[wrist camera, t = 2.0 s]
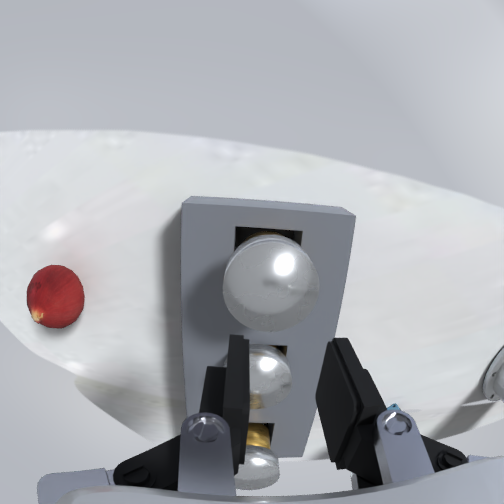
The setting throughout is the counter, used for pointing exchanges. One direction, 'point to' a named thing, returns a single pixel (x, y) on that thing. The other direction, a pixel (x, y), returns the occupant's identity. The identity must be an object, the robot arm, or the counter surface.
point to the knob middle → (267, 376)
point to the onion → (55, 296)
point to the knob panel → (223, 324)
